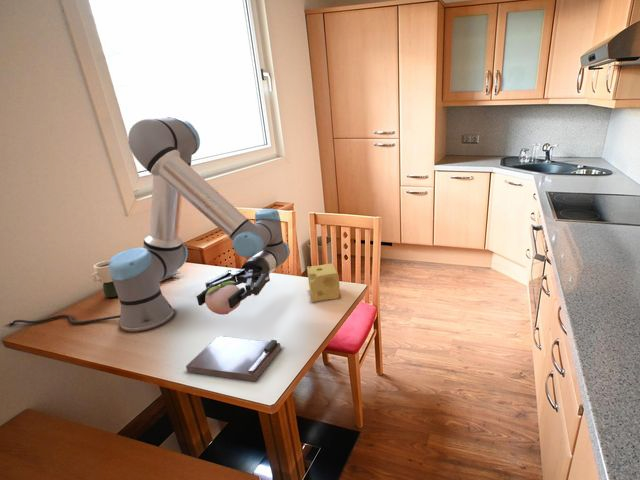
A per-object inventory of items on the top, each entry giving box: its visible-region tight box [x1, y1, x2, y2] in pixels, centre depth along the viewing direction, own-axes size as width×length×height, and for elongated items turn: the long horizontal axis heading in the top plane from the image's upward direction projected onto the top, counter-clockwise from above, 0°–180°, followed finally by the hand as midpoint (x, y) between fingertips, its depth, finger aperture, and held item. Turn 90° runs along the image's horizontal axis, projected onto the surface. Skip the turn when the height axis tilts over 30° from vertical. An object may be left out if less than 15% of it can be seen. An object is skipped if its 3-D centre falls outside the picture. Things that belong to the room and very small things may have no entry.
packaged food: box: [159, 269, 181, 282], centre depth 156 cm, size 9×12×5 cm
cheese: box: [306, 263, 340, 303], centre depth 137 cm, size 10×11×10 cm
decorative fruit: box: [204, 281, 242, 316], centre depth 102 cm, size 9×8×10 cm
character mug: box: [91, 259, 118, 298], centre depth 141 cm, size 11×7×13 cm, turn 159°
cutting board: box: [185, 335, 282, 383], centre depth 104 cm, size 20×14×3 cm
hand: (214, 302), depth 98 cm, fingers closed on decorative fruit, 8 cm apart
